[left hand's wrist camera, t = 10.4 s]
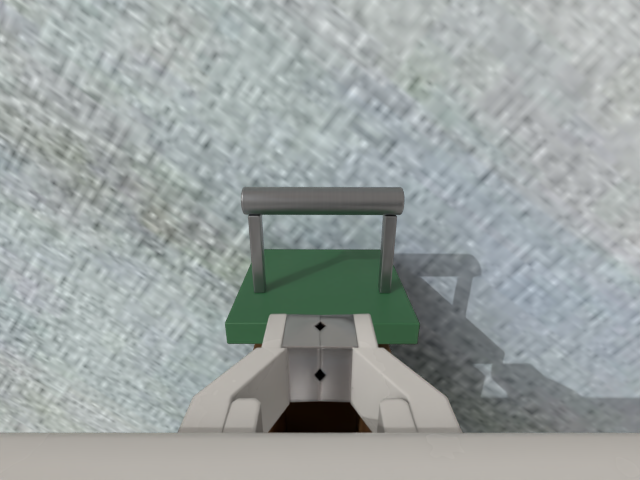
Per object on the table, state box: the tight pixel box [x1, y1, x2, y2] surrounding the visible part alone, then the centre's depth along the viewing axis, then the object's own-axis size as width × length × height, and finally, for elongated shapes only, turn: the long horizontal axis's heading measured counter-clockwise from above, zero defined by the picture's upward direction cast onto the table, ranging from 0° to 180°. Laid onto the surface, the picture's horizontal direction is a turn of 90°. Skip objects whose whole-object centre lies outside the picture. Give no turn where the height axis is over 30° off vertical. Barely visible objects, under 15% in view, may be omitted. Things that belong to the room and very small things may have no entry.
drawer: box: [225, 187, 420, 433], centre depth 22 cm, size 24×9×9 cm, turn 0°
